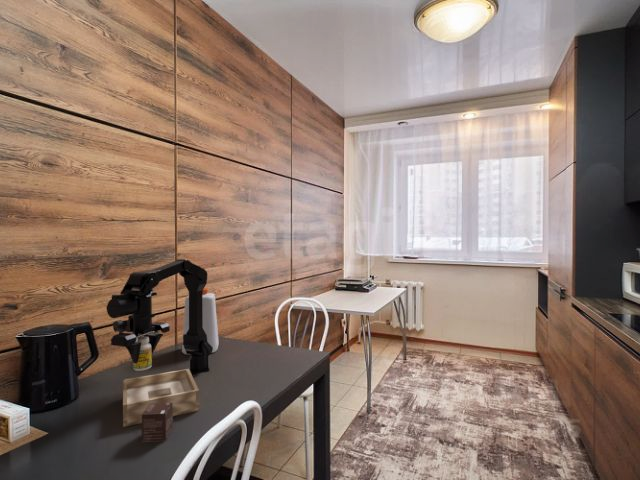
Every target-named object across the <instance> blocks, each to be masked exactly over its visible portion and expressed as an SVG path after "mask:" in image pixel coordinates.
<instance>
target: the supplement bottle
mask: <svg viewBox="0 0 640 480" xmlns="http://www.w3.org/2000/svg"><path fill="white" fill-rule="evenodd" d="M138 342H141V347H140V353H139V358H138V362H137V363H133V362H132V366H133V367H132V369H133V370H134V371H136V372H139V371H146V370H149V369H150V368H152V365H153V363H152V362H153V360H152V356H153V354H152V351H151V344H150V343H148V342H149V337H144V336H142V337H139V338H138Z"/></svg>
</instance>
